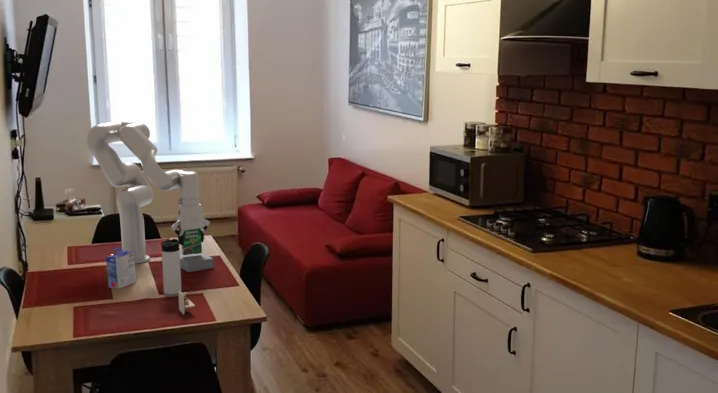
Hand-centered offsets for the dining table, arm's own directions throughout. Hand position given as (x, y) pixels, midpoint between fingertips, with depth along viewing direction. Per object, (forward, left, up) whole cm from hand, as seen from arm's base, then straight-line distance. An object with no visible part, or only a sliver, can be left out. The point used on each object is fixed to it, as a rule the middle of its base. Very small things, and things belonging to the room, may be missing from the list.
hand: (191, 243), depth 301 cm
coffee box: (0, 0, -5) cm, 5 cm away
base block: (0, 0, -10) cm, 10 cm away
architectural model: (-26, -50, -10) cm, 58 cm away
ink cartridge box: (-32, -8, -10) cm, 35 cm away
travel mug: (-21, -30, -10) cm, 38 cm away
